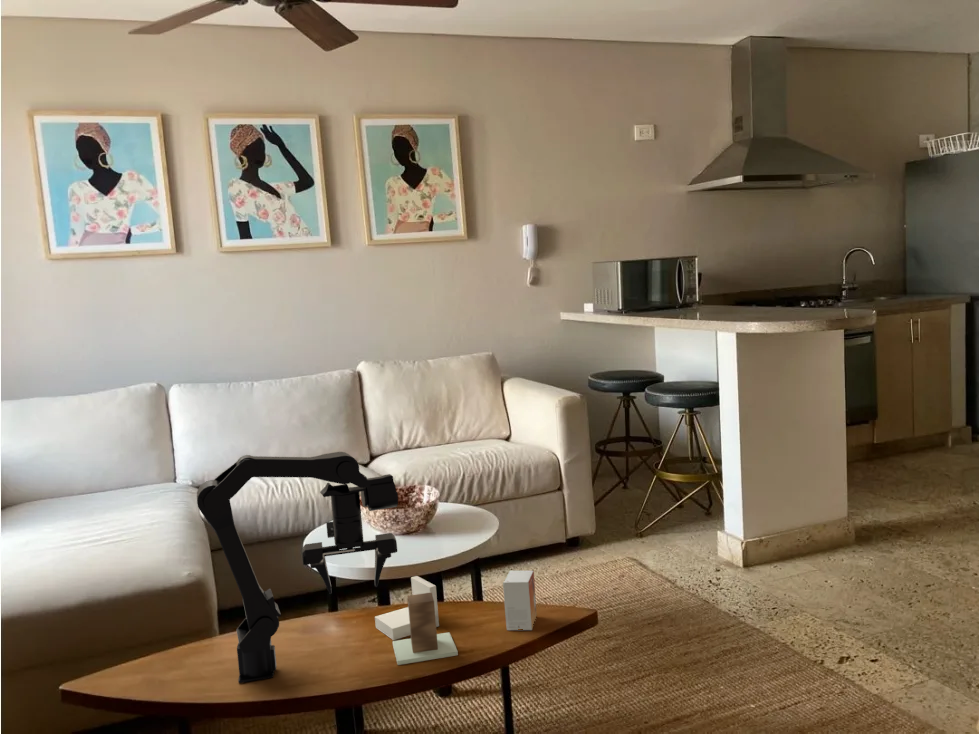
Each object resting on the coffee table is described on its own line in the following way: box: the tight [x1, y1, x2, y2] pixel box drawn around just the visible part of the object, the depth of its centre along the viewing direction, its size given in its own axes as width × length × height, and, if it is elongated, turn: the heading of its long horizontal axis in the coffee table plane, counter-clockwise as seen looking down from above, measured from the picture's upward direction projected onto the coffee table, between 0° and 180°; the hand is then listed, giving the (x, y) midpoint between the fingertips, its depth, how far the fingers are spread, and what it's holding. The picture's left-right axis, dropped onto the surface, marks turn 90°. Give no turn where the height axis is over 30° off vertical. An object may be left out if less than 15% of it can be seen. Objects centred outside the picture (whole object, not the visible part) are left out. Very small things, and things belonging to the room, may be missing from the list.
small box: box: [502, 570, 538, 631], centre depth 172 cm, size 8×6×10 cm
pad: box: [392, 632, 459, 666], centre depth 162 cm, size 12×10×1 cm
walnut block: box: [406, 593, 438, 653], centre depth 162 cm, size 5×5×10 cm
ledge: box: [374, 575, 440, 641], centre depth 175 cm, size 11×9×9 cm
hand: (353, 589), depth 163 cm, fingers open, 9 cm apart
